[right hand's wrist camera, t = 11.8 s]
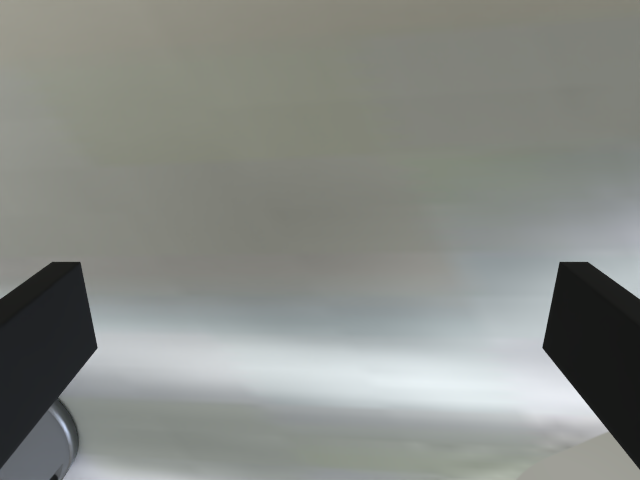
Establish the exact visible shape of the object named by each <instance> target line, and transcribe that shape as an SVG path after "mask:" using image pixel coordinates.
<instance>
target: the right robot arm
mask: <svg viewBox="0 0 640 480" xmlns="http://www.w3.org/2000/svg"><path fill="white" fill-rule="evenodd" d="M96 349H97V343H96V338H95V333H94V328H93V323H92V318H91V313H90V308H89V303H88V298H87V293H86V288H85V283H84V278H83V273H82V268H81V263H80V262H52V263H50V264H49V265H47V266H46V267H45V268H43V269H42V270H40V271H39V272H38V273H36V274H35V275H33V276H32V277H31V278H29V279H28V280H27V281H25V282H24V283H22V284H21V285H20V286H18V287H17V288H15V289H14V290H13V291H11V292H10V293H8V294H7V295H6V296H4V297H3V298H1V299H0V480H62V479H63V478H64V476H65V475H66V473H67V471H68V470H69V468H70V467H71V465H72V463H73V462H74V459H75V457H76V454H77V450H78V436H77V431H76V427H75V425H74V422H73V420H72V418H71V416H70V415H69V413H68V411H67V410H66V409H65V407H64V406H63V405H62V404H61V403H60V402H59V400H58V399H57V398H58V397H59V395H60V394H61V393H62V392H63V390H64V389H65V388H66V387H67V385H68V384H69V383H70V382H71V380H72V379H73V378H74V377H75V375H76V374H77V373H78V372H79V370H80V369H81V368H82V367H83V366H84V364H85V363H86V362H87V361H88V359H89V358H90V357H91V356H92V354H93V353H94V352H95V351H96ZM543 349H544V351H545V352H546V353H547V354H548V356H549V357H550V358H551V359H552V361H553V362H554V363H555V364H556V366H557V367H558V368H559V369H560V371H561V372H562V373H563V374H564V375H565V377H566V378H567V379H568V380H569V382H570V383H571V384H572V385H573V387H574V388H575V389H576V390H577V392H578V393H579V394H580V395H581V397H582V398H583V399H584V400H585V402H586V403H587V404H588V405H589V407H590V408H591V409H592V410H593V412H594V413H595V414H596V415H597V417H598V418H599V419H600V420H601V422H602V423H603V424H604V425H605V427H606V428H607V429H608V430H609V432H610V433H611V434H612V435H613V437H614V438H615V439H616V440H617V442H618V443H619V444H620V445H621V447H622V448H623V449H624V450H625V452H626V453H627V454H628V455H629V457H630V458H631V459H632V460H633V462H634V463H635V464H636V465H637V467H638V468H639V469H640V299H639V298H637V297H636V296H634V295H633V294H632V293H630V292H629V291H627V290H626V289H625V288H623V287H622V286H620V285H619V284H618V283H616V282H615V281H613V280H612V279H611V278H609V277H608V276H607V275H605V274H604V273H602V272H601V271H600V270H598V269H597V268H595V267H594V266H593V265H591V264H590V263H588V262H560V263H559V268H558V273H557V278H556V283H555V288H554V293H553V298H552V303H551V308H550V313H549V318H548V323H547V328H546V333H545V338H544V343H543Z"/></svg>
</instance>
